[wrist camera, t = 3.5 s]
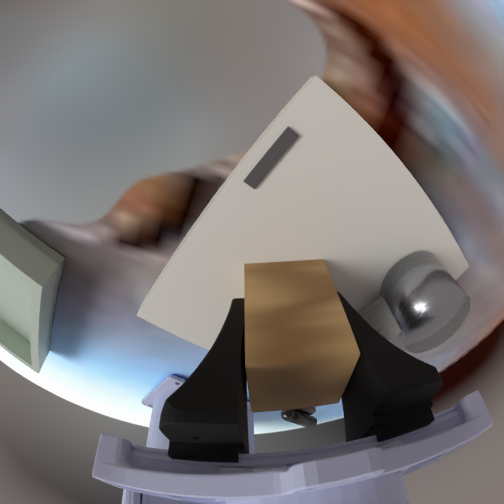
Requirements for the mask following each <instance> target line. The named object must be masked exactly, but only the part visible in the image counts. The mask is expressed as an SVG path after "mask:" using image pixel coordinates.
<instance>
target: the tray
mask: <svg viewBox="0 0 504 504" xmlns="http://www.w3.org/2000/svg"><path fill="white" fill-rule="evenodd" d="M64 260H65V258H64V257H63V256H62V255H60V254H59V253H57V252H56V251H54V250H53V249H52V248H50V247H49V246H47V245H46V244H45V243H43V242H42V241H41V240H39V239H38V238H37V237H35V236H34V235H33V234H31V233H30V232H29V231H27V230H26V229H25V228H24V227H22V226H21V225H20V224H18V223H17V222H16V221H15V220H13V219H12V218H11V217H10V216H9V215H7V214H6V213H5V212H4V211H3V210H2V209H0V346H2V347H3V348H4V349H5V350H7V351H8V352H9V353H11V354H12V355H13V356H15V357H16V358H17V359H19V360H20V361H21V362H23V363H24V364H26V365H27V366H29V367H30V368H31V369H33V370H34V371H36V372H37V373H39V372H40V369H41V367H42V365H43V363H44V361H45V359H46V357H47V355H48V353H49V350H50V339H51V330H52V323H53V316H54V309H55V303H56V297H57V292H58V287H59V282H60V277H61V273H62V269H63V264H64Z"/></svg>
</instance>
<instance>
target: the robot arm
mask: <svg viewBox="0 0 504 504" xmlns="http://www.w3.org/2000/svg"><path fill="white" fill-rule="evenodd" d="M337 294H338V296H339V299H340V301H341V304H342V306H343V309H344V311H345V314H346V316H347V319H348V322H349V324H350V327H351V329H352V332H353V335H354V337H355V340H356V343H357V346H358V348H359V351H360V356H359V358H358V361H357V363H356V365H355V368H354V370H353V372H352V375H351V377H350V379H349V381H348V384H347V386H346V388H345V390H344V392H343V394H342V396H341V397H342V404H343V411H344V420H345V431H346V442H344V443H339V444H334V445H329V446H324V447H317V448H310V449H303V450H295V451H286V452H274V453H259V454H258V453H257V454H255V451H254V424H253V412H251V406H250V402H249V401H247V375H246V367H245V300H244V298H234V299H233V300H232V302H231V306H230V309H229V312H228V315H227V317H226V320H225V322H224V324H223V326H222V329H221V331H220V333H219V334H218V336H217V338H216V340H215V342H214V344H213V345H212V347H211V349H210V350H209V352H208V353H207V355H206V356H205V358H204V359H203V360H202V362H201V363H200V364H199V366H198V367H197V368H196V370H195V371H194V372H193V373H192V374H191V375H190V377H189V378H188V379H187V380H184V379H182V378H179V377H177V376H174V375H169V376H168V377H166V378H165V379H164V380H163V381H162V382H161V383H160V384H159V385H158V386H157V387H156V388H155V389H154V390H152V391H151V392H150V393H149V394H148V395H147V396H146V397H145V398H144V399H143V400H142V404H144V405H146V406H148V407H151V408H153V410H152V415H151V421H150V426H149V432H148V438H147V445H146V447H144V446H139V445H133V444H132V443H131V442H130V441H128V440H127V439H124V438H121V437H117V436H113V435H108V434H104V433H102V434H101V435H100V439H99V444H98V448H97V453H96V458H95V462H94V467H93V473H92V476H93V477H94V478H97V479H99V480H101V481H104V482H106V483H108V484H111V485H113V486H116V487H119V488H122V489H124V492H123V498H122V504H409V499H408V494H407V490H406V485H405V481H404V476H403V475H405V474H408V473H410V472H412V471H415V470H417V469H419V468H422V467H424V466H426V465H428V464H430V463H432V462H434V461H436V460H438V459H440V458H442V457H444V456H446V455H448V454H450V453H451V452H453V451H455V450H457V449H459V448H461V447H462V446H464V445H466V444H468V443H469V442H470V441H472V440H473V439H475V438H476V437H478V436H479V435H480V434H482V433H483V432H484V431H486V430H487V429H488V428H490V427H491V426H492V425H493V423H492V420H491V418H490V415H489V413H488V410H487V408H486V406H485V404H484V401H483V399H482V397H481V395H480V393H479V391H478V390H477V391H475V392H473V393H471V394H469V395H467V396H465V397H464V398H462V399H461V400H460V401H459V402H458V403H457V404H456V405H455V406H453V407H451V408H449V409H447V410H445V411H442V412H440V413H438V414H435V415H433V414H432V411H431V407H432V402H431V399H432V398H433V397H434V396H435V395H436V393H437V392H438V391H439V390H440V388H441V387H442V384H443V382H442V379H441V377H440V375H439V373H438V371H437V369H436V367H434V366H432V365H429V364H427V363H425V362H423V361H420V360H418V359H416V358H415V357H413V356H411V355H409V354H407V353H406V352H404V351H403V350H401V349H400V348H398V347H397V346H395V345H394V344H392V343H391V342H389V341H388V340H387V339H386V338H384V337H383V336H382V335H381V334H379V333H378V332H377V331H376V330H375V329H374V328H373V327H372V326H371V325H369V324H368V323H367V322H366V321H365V320H364V319H363V318H362V316H361V315H360V314H359V313H358V312H357V311H356V310H355V309H354V308H353V307H352V306H351V305H350V304H349V302H348V301H347V300H346V299H345V298H344V297H343V296H342V294H341V293H340V292H339V291H337ZM282 467H284V468H282ZM269 468H278V469H270V470H261V471H254V470H253V469H269Z"/></svg>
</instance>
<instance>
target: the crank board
mask: <svg viewBox="0 0 504 504" xmlns="http://www.w3.org/2000/svg"><path fill="white" fill-rule="evenodd" d="M420 251H424V252H429V253H431V254H433V255H434V256H435V257H436V258H437V260H438V261H439V262H440V263H441V264H442V265H443V266H444V268H445V269H446V270H447V271H448V272H449V273H450V274H451V276H452V277H453V278H454V279H455V280H457V279H458V278H459V277H460V276H461V275H462V273H463V272H464V271H465V270H466V269H467V268H468V267H469V265H468V263H467V261H466V259H465V257H464V255H463V253H462V251H461V249H460V248H459V246H458V244H457V242H456V241H455V239H454V237H453V235H452V234H451V232H450V230H449V229H448V227H447V225H446V224H445V222H444V221H443V219H442V217H441V216H440V214H439V213H438V211H437V210H436V208H435V207H434V205H433V204H432V202H431V201H430V199H429V198H428V196H427V195H426V194H425V192H424V191H423V189H422V188H421V187H420V185H419V184H418V183H417V181H416V180H415V179H414V177H413V176H412V175H411V173H410V172H409V171H408V169H407V168H406V167H405V166H404V164H403V163H402V162H401V161H400V159H399V158H398V157H397V156H396V155H395V153H394V152H393V151H392V150H391V149H390V148H389V146H388V145H387V144H386V143H385V142H384V141H383V140H382V138H381V137H380V136H379V135H378V134H377V133H376V132H375V131H374V130H373V129H372V128H371V127H370V125H369V124H368V123H367V122H366V121H365V120H364V119H363V118H362V117H361V116H360V115H359V114H358V113H357V112H356V111H355V110H354V109H353V108H352V107H351V106H350V105H349V104H348V103H347V102H345V101H344V100H343V99H342V98H341V97H340V96H339V95H338V94H337V93H336V92H335V91H333V90H332V89H331V88H330V87H329V86H328V85H327V84H325V83H324V82H323V81H322V80H321V79H320V78H318V77H317V76H314V77H311V78H310V79H309V80H308V81H307V82H306V83H305V84H304V85H303V87H302V88H301V89H300V90H299V91H298V92H297V93H296V94H295V95H294V96H293V98H292V99H291V100H290V101H289V102H288V103H287V105H286V106H285V107H284V108H283V109H282V110H281V112H280V113H279V114H278V115H277V116H276V117H275V119H274V120H273V121H272V122H271V123H270V125H269V126H268V127H267V128H266V129H265V131H264V132H263V133H262V134H261V136H260V137H259V138H258V139H257V141H256V142H255V143H254V144H253V146H252V147H251V148H250V149H249V151H248V152H247V153H246V154H245V156H244V157H243V158H242V159H241V161H240V162H239V163H238V165H237V166H236V167H235V168H234V170H233V171H232V172H231V174H230V175H229V176H228V178H227V179H226V180H225V182H224V183H223V184H222V186H221V187H220V188H219V190H218V191H217V192H216V194H215V195H214V197H213V198H212V199H211V201H210V202H209V203H208V205H207V206H206V208H205V209H204V210H203V212H202V213H201V215H200V216H199V217H198V219H197V220H196V222H195V223H194V224H193V226H192V227H191V229H190V230H189V232H188V233H187V235H186V236H185V237H184V239H183V240H182V242H181V243H180V245H179V246H178V248H177V249H176V251H175V252H174V254H173V255H172V257H171V258H170V260H169V261H168V263H167V264H166V266H165V267H164V269H163V270H162V272H161V274H160V275H159V277H158V278H157V280H156V281H155V283H154V285H153V286H152V288H151V289H150V291H149V293H148V294H147V296H146V297H145V299H144V301H143V302H142V304H141V306H140V309H139V311H138V314H137V316H139V317H141V318H143V319H145V320H147V321H148V322H150V323H152V324H154V325H156V326H158V327H160V328H162V329H164V330H166V331H168V332H170V333H172V334H174V335H176V336H178V337H180V338H183V339H185V340H187V341H189V342H191V343H193V344H196V345H198V346H200V347H202V348H204V349H207V350H210V349H211V347H212V345H213V344H214V342H215V340H216V338H217V336H218V334H219V333H220V331H221V329H222V326H223V324H224V322H225V320H226V317H227V315H228V312H229V309H230V306H231V302H232V300H233V299H234V298H244V264H249V263H267V262H284V261H301V260H317V259H323V260H324V263H325V265H326V267H327V270H328V272H329V274H330V277H331V279H332V281H333V284H334V286H335V289H336V291H339V292H340V293H341V294H342V296H343V297H344V298H345V299H346V300H347V301H348V302H349V304H350V305H351V306H352V307H353V308H354V309H355V310H356V311H357V312H358V311H360V310H361V309H363V308H364V307H366V306H367V305H369V304H370V303H372V302H373V301H374V300H376V299H377V298H379V297H380V289H381V285H382V282H383V280H384V278H385V276H386V274H387V273H388V272H389V270H390V269H391V268H392V267H393V266H394V265H395V264H396V263H397V262H398V261H399V260H401V259H402V258H404V257H405V256H407V255H409V254H412V253H415V252H420Z"/></svg>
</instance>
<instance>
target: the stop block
mask: <svg viewBox="0 0 504 504" xmlns="http://www.w3.org/2000/svg"><path fill="white" fill-rule="evenodd" d="M244 300H245V367H246V375H247V383H248V390H249V398H250V406H251V412H265V411H279V410H290V409H299V408H307V407H315V406H322V405H328V404H334V403H339V401H340V399H341V396H342V394H343V392H344V390H345V388H346V386H347V384H348V381H349V379H350V377H351V375H352V372H353V370H354V368H355V365H356V363H357V361H358V358H359V356H360V351H359V348H358V346H357V343H356V340H355V337H354V335H353V332H352V329H351V327H350V324H349V322H348V319H347V316H346V314H345V311H344V309H343V306H342V304H341V301H340V299H339V296H338V294H337V291H336V289H335V286H334V284H333V281H332V279H331V277H330V274H329V272H328V270H327V267H326V265H325V263H324V260H323V259H317V260H301V261H284V262H267V263H249V264H244Z"/></svg>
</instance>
